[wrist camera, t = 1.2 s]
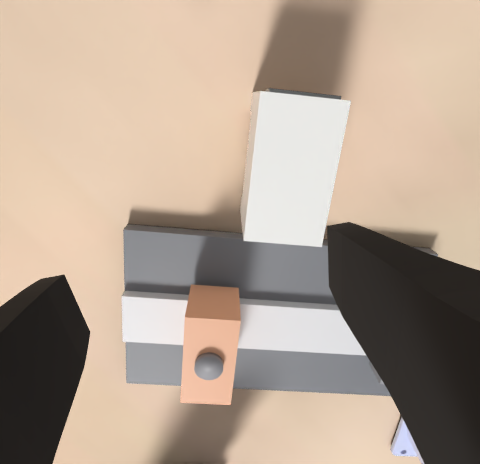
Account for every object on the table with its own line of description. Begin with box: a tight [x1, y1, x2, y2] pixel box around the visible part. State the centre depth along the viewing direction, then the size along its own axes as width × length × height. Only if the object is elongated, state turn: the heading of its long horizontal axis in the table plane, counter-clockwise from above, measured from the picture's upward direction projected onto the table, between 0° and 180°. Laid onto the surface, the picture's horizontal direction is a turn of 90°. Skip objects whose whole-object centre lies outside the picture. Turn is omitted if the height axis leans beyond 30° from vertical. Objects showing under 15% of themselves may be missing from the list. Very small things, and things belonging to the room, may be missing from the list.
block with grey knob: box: [180, 285, 241, 405], centre depth 21 cm, size 3×6×4 cm, turn 174°
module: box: [240, 88, 351, 247], centre depth 19 cm, size 4×7×5 cm, turn 174°
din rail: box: [122, 224, 438, 396], centre depth 24 cm, size 20×12×3 cm, turn 84°
